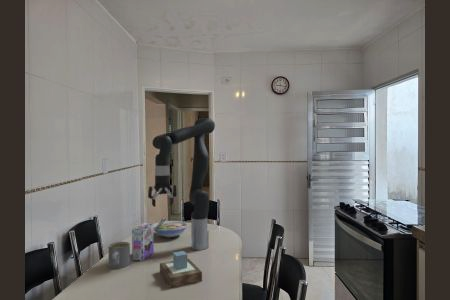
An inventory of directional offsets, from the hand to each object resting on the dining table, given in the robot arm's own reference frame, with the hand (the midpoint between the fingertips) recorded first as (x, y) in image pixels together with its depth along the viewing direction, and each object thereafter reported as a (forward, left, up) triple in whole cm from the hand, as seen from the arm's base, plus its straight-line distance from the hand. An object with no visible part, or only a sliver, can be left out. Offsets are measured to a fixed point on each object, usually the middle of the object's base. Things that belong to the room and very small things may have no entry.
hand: (162, 205), depth 158 cm
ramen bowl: (-15, -40, -28) cm, 51 cm away
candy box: (+8, -10, -28) cm, 31 cm away
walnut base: (-2, +23, -28) cm, 36 cm away
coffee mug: (+22, -2, -28) cm, 36 cm away
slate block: (-2, +23, -24) cm, 33 cm away
